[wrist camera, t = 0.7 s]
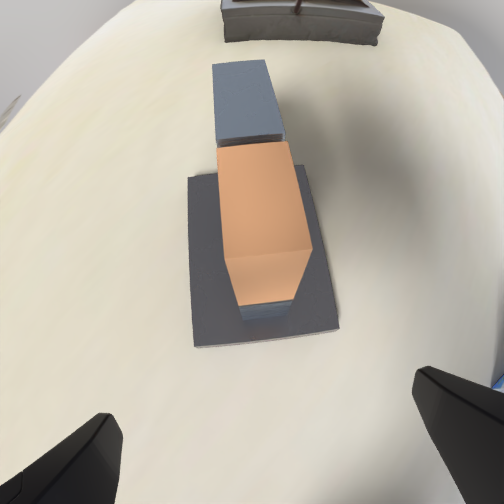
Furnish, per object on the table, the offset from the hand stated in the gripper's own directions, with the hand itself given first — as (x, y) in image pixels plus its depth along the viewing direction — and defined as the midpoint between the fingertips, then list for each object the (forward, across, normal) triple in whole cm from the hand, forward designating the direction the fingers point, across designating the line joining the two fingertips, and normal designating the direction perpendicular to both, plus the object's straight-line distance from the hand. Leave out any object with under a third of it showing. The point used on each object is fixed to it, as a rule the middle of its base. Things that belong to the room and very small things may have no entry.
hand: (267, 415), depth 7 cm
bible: (+43, -14, -33) cm, 56 cm away
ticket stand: (+17, -1, 0) cm, 17 cm away
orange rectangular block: (+11, -1, -1) cm, 11 cm away
